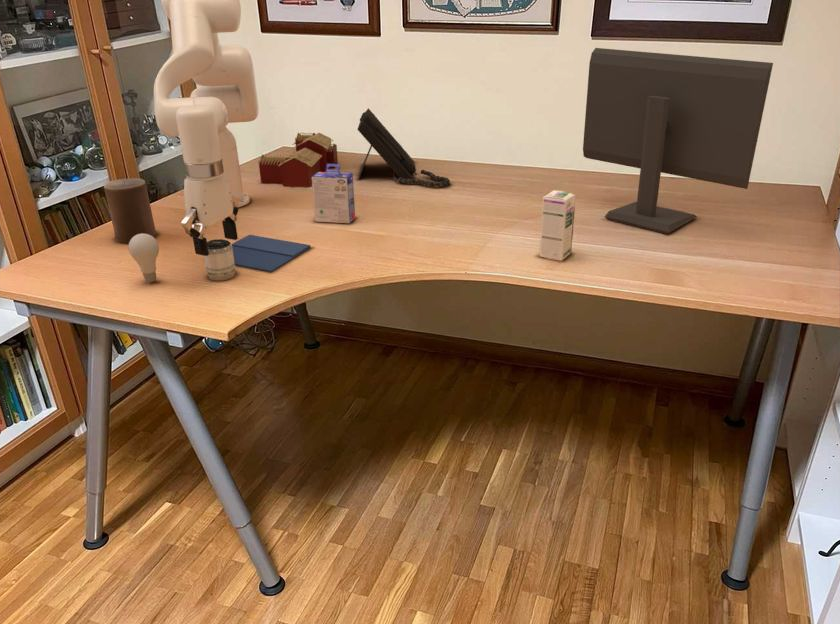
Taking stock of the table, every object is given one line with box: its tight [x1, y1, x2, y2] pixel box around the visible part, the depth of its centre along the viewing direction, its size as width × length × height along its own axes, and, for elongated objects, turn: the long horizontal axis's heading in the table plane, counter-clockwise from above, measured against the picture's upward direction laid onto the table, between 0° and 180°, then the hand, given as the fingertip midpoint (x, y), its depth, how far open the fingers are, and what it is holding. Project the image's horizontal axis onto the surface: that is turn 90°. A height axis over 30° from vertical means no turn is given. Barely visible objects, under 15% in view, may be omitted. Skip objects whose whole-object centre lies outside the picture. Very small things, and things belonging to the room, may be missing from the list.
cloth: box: [231, 234, 311, 273], centre depth 168 cm, size 18×16×1 cm
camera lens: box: [203, 238, 236, 282], centre depth 155 cm, size 6×6×8 cm
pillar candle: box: [103, 177, 157, 244], centre depth 176 cm, size 10×10×15 cm
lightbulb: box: [127, 234, 160, 284], centre depth 152 cm, size 6×6×11 cm
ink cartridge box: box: [311, 163, 356, 224], centre depth 185 cm, size 10×6×14 cm, turn 78°
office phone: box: [357, 107, 451, 188], centre depth 219 cm, size 29×28×20 cm
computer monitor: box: [582, 47, 774, 235], centre depth 176 cm, size 44×16×40 cm, turn 47°
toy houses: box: [255, 132, 339, 188], centre depth 232 cm, size 45×20×10 cm, turn 173°
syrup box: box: [539, 189, 577, 262], centre depth 161 cm, size 6×6×14 cm
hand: (217, 246), depth 154 cm, fingers open, 9 cm apart
